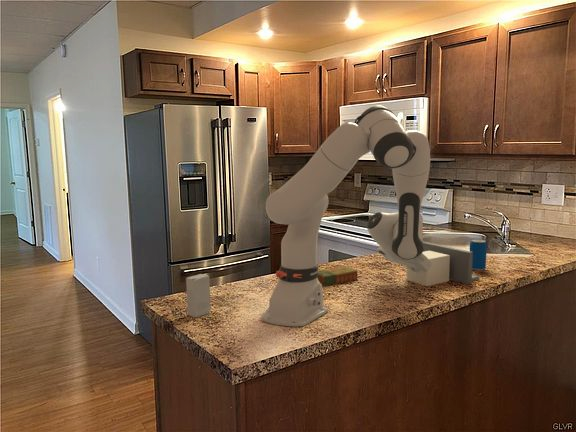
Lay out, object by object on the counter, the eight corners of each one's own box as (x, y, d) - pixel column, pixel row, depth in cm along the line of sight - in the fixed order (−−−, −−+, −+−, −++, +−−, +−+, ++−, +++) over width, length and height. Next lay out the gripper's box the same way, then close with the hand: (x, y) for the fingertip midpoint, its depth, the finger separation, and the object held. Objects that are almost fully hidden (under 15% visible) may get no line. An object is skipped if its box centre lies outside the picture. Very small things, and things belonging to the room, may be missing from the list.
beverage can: (485, 267, 194) (487, 239, 193) (485, 271, 188) (486, 242, 187) (469, 266, 197) (470, 238, 195) (468, 270, 191) (469, 241, 189)
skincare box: (202, 310, 148) (201, 273, 146) (211, 313, 145) (210, 275, 143) (186, 315, 143) (184, 277, 142) (195, 318, 140) (194, 279, 139)
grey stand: (467, 284, 171) (469, 252, 169) (418, 270, 192) (419, 241, 190) (483, 280, 176) (485, 249, 174) (433, 267, 196) (434, 239, 194)
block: (426, 286, 170) (427, 259, 169) (406, 279, 178) (407, 254, 177) (449, 281, 176) (449, 255, 175) (428, 275, 185) (429, 250, 183)
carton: (357, 280, 179) (357, 269, 179) (323, 287, 172) (323, 276, 171) (344, 275, 187) (344, 265, 186) (311, 281, 179) (311, 271, 178)
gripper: (423, 245, 159) (442, 269, 165) (382, 236, 176) (401, 258, 182) (414, 260, 157) (433, 283, 163) (373, 249, 174) (392, 271, 181)
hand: (416, 270), depth 173 cm, fingers closed, pressing on block
